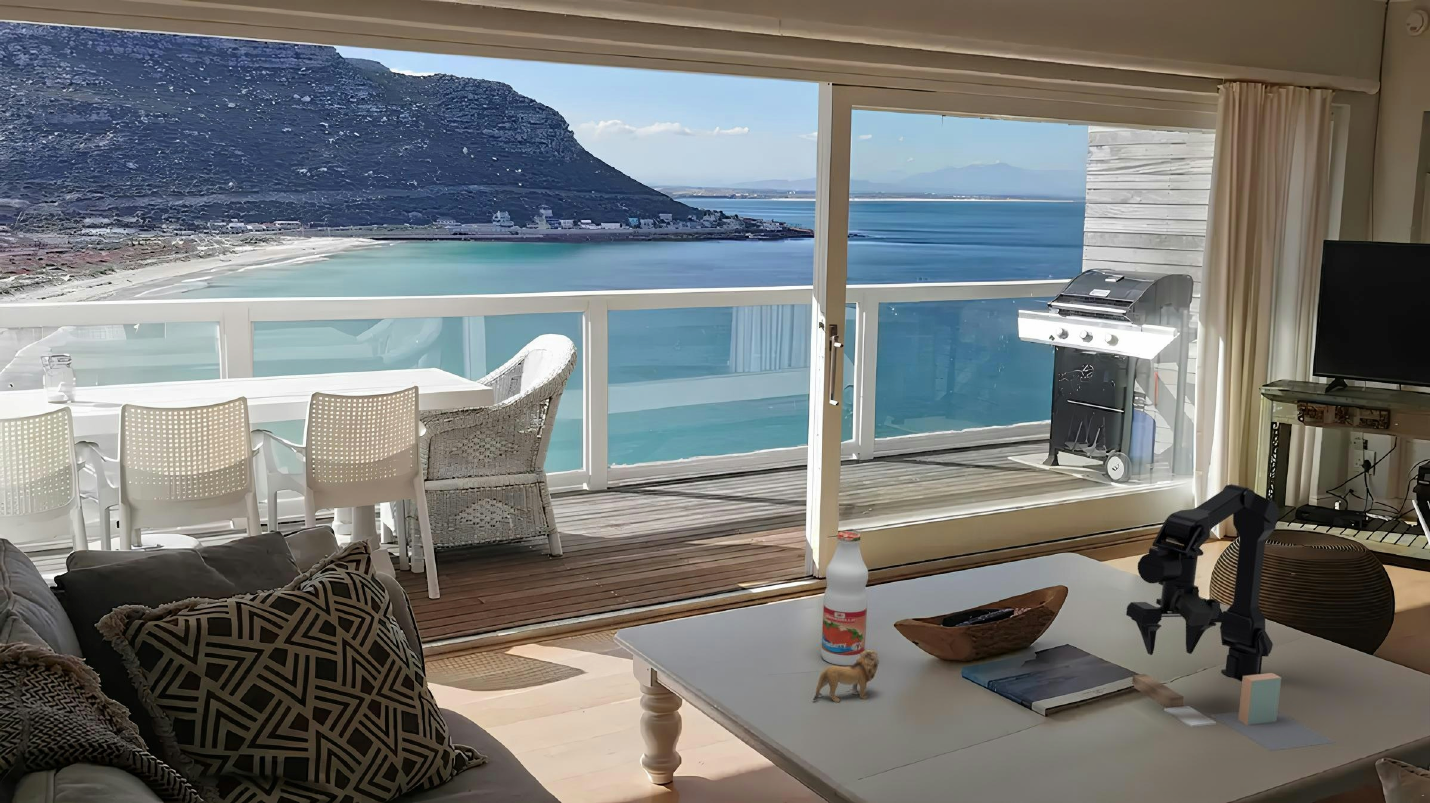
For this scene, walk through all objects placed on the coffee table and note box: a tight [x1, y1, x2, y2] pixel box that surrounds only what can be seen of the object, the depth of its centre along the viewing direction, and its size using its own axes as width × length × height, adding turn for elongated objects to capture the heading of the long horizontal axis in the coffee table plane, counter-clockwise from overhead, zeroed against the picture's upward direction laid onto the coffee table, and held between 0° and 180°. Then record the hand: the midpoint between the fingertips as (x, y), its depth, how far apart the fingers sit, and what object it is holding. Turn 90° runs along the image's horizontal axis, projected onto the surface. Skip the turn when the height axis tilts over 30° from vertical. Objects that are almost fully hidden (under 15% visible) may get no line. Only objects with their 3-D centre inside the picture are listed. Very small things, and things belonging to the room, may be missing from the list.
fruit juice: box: [820, 530, 869, 666], centre depth 249 cm, size 9×9×28 cm
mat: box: [1209, 711, 1336, 752], centre depth 221 cm, size 15×16×1 cm
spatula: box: [1131, 673, 1217, 728], centre depth 231 cm, size 20×6×3 cm, turn 16°
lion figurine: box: [812, 649, 880, 703], centre depth 230 cm, size 15×5×9 cm, turn 116°
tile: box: [1238, 672, 1282, 725], centre depth 224 cm, size 7×2×9 cm, turn 107°
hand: (1169, 653), depth 230 cm, fingers open, 9 cm apart
